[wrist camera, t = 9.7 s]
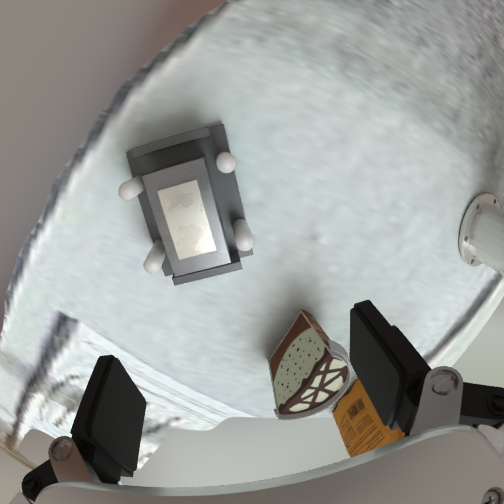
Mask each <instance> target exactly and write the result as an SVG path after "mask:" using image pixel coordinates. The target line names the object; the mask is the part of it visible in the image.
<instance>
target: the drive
mask: <svg viewBox="0 0 504 504" xmlns="http://www.w3.org/2000/svg"><path fill="white" fill-rule="evenodd" d="M142 177H143V181H144V184H145V188H146V191H147V194H148V198H149V201H150V204H151V207H152V211H153V214H154V217H155V220H156V223H157V226H158V229H159V232H160V235H161V238H162V241H163V244H164V247H165V250H166V253H167V255H168V258H169V261H170V264H171V267H172V269H173V272H174V275H175V277H176V276H180V275H184V274H188V273H192V272H196V271H200V270H204V269H208V268H212V267H215V266H219V265H223V264H227V263H231V260H230V254H229V248H228V241H227V237H226V233H225V229H224V225H223V222H222V218H221V214H220V210H219V206H218V203H217V199H216V195H215V191H214V187H213V183H212V179H211V176H210V172H209V168H208V164H207V160H206V156H205V155H202V156H198V157H195V158H191V159H188V160H184V161H181V162H177V163H174V164H170V165H167V166H164V167H161V168H158V169H155V170H153V171H151V172H149V173H147V174H145V175H144V176H142Z"/></svg>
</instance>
